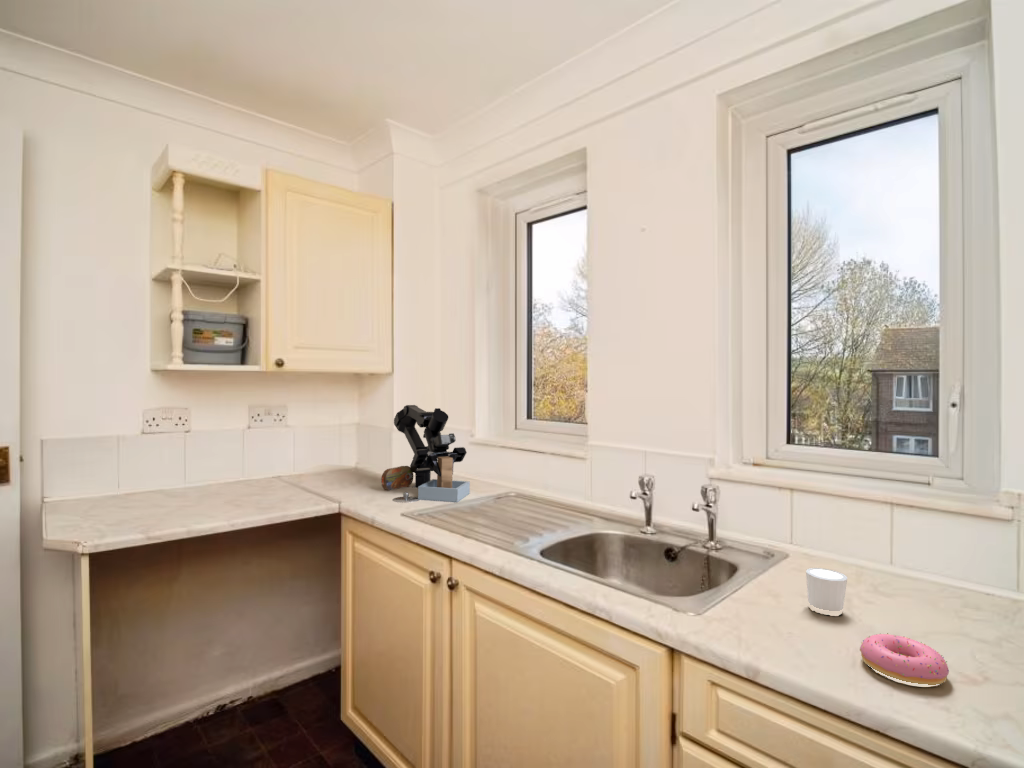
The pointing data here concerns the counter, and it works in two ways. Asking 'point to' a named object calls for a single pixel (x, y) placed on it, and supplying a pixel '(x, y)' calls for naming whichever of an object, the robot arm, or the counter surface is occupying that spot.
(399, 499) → the base
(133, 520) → the counter surface
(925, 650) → the doughnut
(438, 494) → the bin
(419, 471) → the robot arm
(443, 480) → the strut
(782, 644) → the counter surface
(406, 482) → the tin
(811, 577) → the white cylinder
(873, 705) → the counter surface
